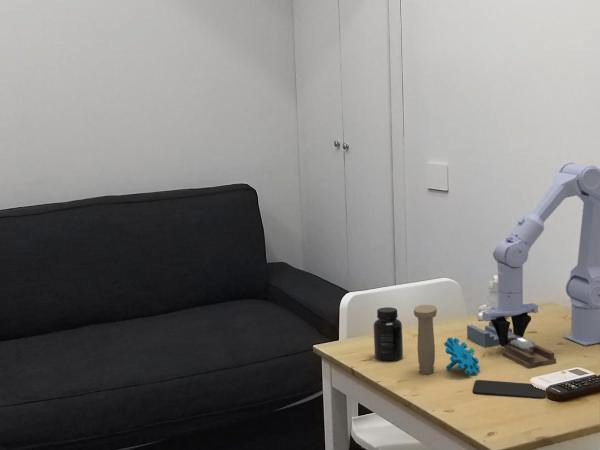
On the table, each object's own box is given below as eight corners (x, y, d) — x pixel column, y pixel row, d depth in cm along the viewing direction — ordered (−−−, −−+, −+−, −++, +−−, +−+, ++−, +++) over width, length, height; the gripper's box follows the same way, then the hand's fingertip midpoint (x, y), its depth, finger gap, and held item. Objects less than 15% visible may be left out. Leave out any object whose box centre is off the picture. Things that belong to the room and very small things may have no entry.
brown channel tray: (529, 350, 196) (529, 340, 195) (555, 362, 187) (555, 352, 186) (502, 355, 193) (502, 345, 193) (528, 368, 184) (528, 357, 184)
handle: (413, 376, 183) (411, 312, 180) (418, 366, 189) (417, 304, 186) (434, 377, 181) (433, 313, 179) (439, 367, 187) (438, 305, 185)
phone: (546, 397, 166) (471, 391, 171) (546, 401, 166) (471, 395, 171) (546, 384, 173) (475, 379, 178) (546, 388, 173) (475, 382, 178)
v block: (493, 333, 210) (493, 320, 209) (512, 342, 202) (512, 328, 202) (467, 338, 207) (467, 325, 206) (485, 347, 200) (484, 333, 199)
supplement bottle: (408, 356, 196) (407, 308, 194) (391, 364, 191) (390, 315, 189) (385, 351, 201) (384, 304, 199) (368, 358, 196) (367, 310, 194)
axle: (498, 345, 198) (498, 331, 197) (510, 343, 199) (510, 329, 199) (523, 356, 189) (523, 341, 188) (535, 354, 190) (535, 339, 189)
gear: (468, 375, 177) (441, 338, 181) (450, 390, 180) (424, 353, 184) (490, 367, 186) (464, 332, 190) (473, 381, 189) (447, 346, 193)
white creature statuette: (479, 311, 231) (478, 270, 229) (510, 312, 228) (510, 270, 226) (477, 321, 222) (476, 278, 220) (509, 322, 219) (509, 279, 217)
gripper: (525, 283, 200) (525, 335, 202) (475, 291, 195) (475, 345, 197) (543, 289, 194) (543, 343, 196) (492, 297, 189) (492, 353, 191)
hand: (510, 345), depth 196 cm, fingers closed on axle, 3 cm apart
